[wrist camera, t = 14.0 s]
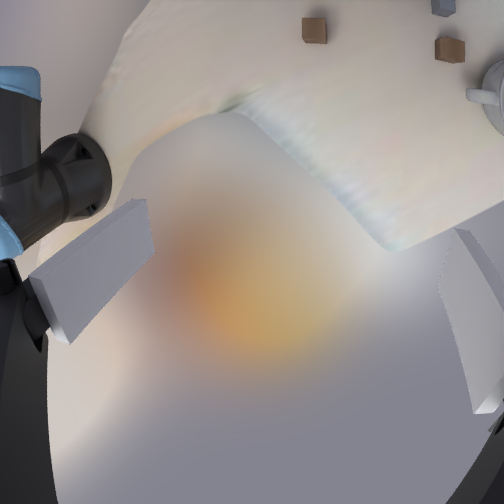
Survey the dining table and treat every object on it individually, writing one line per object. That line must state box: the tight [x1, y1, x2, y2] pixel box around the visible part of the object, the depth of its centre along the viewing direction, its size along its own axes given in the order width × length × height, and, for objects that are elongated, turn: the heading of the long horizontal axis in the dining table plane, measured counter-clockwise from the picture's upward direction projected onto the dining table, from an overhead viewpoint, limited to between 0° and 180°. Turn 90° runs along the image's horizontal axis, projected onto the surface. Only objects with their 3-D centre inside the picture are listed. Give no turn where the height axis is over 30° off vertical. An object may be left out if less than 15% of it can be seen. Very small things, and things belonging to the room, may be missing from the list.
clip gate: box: [302, 18, 465, 63], centre depth 27 cm, size 18×2×4 cm, turn 91°
